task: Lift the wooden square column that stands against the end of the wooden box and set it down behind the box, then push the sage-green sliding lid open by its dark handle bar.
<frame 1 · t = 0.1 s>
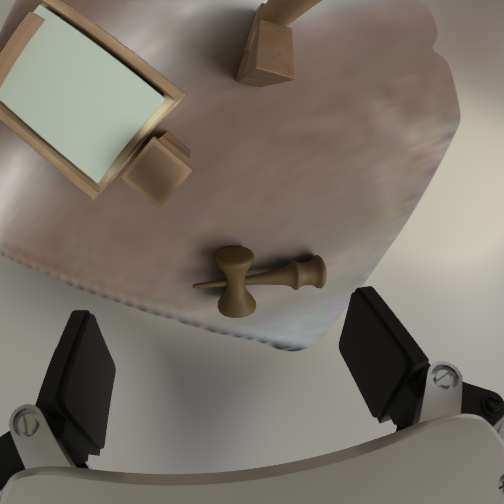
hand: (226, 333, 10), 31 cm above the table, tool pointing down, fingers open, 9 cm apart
wooden block: (259, 47, 31), on the table
wooden square column: (168, 152, 36), on the table
wooden box: (90, 87, 29), on the table
lid: (58, 85, 21), point 10 cm above the table, slide at 0.0 cm
kendama: (256, 268, 47), on the table
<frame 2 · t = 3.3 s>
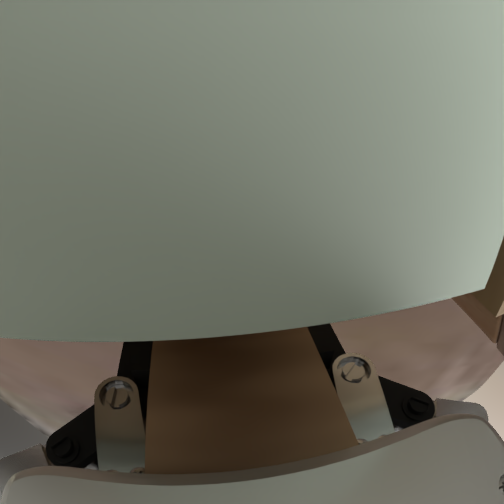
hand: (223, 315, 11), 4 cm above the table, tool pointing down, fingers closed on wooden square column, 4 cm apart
wooden block: (477, 222, 16), on the table
wooden square column: (216, 263, 14), on the table, touching gripper
when the fingers open (5 cm above the table, at t = 10.4 s): wooden square column stays where it is, on the table.
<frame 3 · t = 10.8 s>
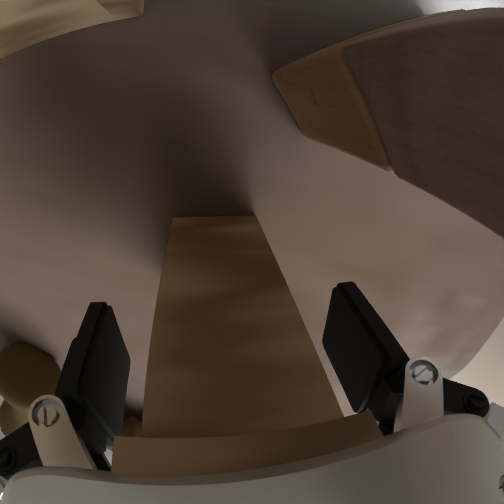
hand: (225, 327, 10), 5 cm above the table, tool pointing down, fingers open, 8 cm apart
wooden block: (372, 65, 12), on the table
wooden square column: (215, 252, 15), on the table
kendama: (74, 391, 20), on the table
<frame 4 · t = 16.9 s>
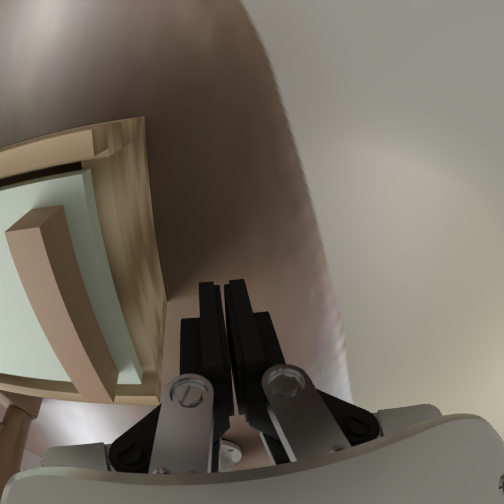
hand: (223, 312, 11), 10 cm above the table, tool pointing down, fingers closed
wooden block: (7, 374, 25), on the table
wooden box: (24, 233, 18), on the table
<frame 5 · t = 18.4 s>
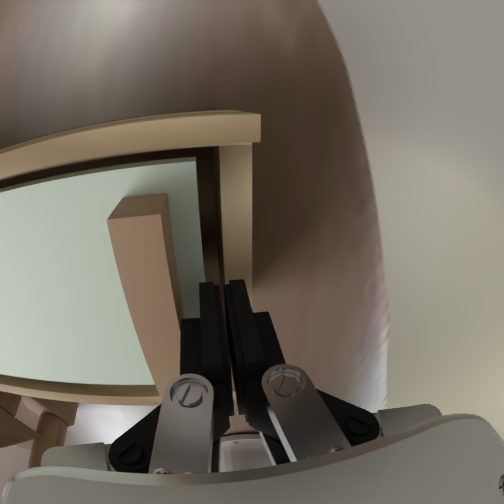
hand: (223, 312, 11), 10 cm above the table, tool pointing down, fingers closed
wooden block: (39, 379, 25), on the table
wooden box: (80, 227, 19), on the table
lid: (1, 314, 10), point 10 cm above the table, slide at 1.4 cm, touching gripper
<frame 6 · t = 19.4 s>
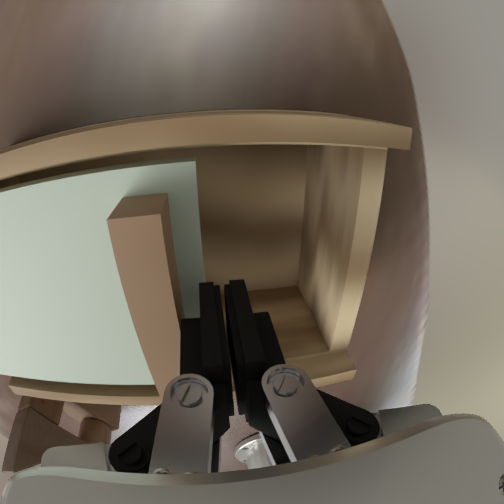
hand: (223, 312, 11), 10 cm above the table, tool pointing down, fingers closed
wooden block: (78, 382, 26), on the table
wooden box: (157, 219, 19), on the table
lid: (1, 314, 10), point 10 cm above the table, slide at 7.2 cm, touching gripper
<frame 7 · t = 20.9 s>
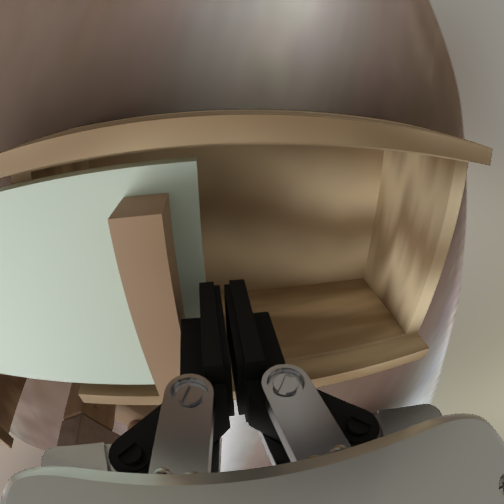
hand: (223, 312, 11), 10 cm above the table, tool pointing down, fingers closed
wooden block: (124, 384, 27), on the table
wooden square column: (18, 330, 22), on the table
wooden box: (243, 212, 20), on the table
lid: (0, 314, 10), point 10 cm above the table, slide at 13.1 cm, touching gripper
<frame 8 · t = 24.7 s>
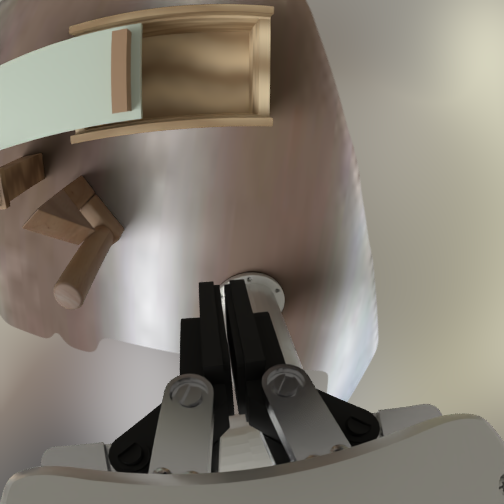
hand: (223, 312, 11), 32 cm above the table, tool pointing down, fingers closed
wooden block: (95, 208, 40), on the table
wooden square column: (33, 167, 34), on the table
wooden box: (173, 74, 33), on the table
lid: (51, 87, 22), point 10 cm above the table, slide at 13.0 cm
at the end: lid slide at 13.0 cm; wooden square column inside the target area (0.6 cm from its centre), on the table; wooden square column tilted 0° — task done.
